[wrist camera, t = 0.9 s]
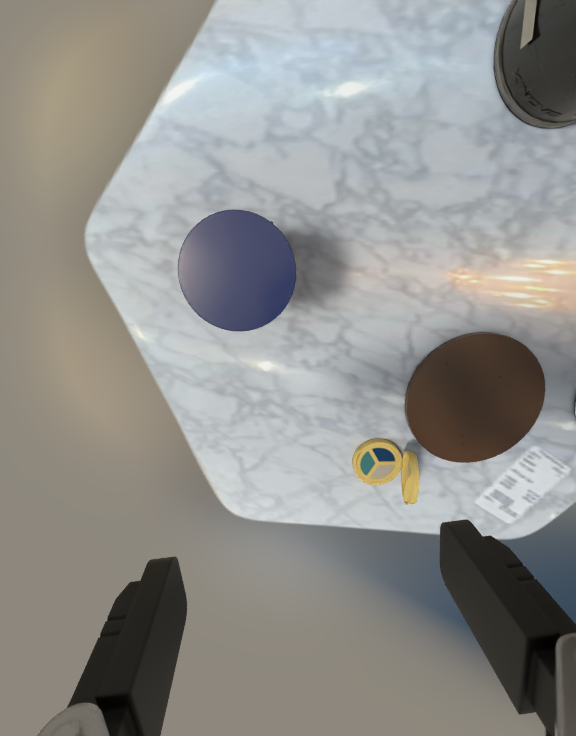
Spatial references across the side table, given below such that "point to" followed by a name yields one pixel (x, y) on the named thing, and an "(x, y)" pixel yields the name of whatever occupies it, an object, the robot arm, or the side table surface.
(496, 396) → the coaster
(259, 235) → the jar lid
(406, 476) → the eyeshadow
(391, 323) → the side table surface
